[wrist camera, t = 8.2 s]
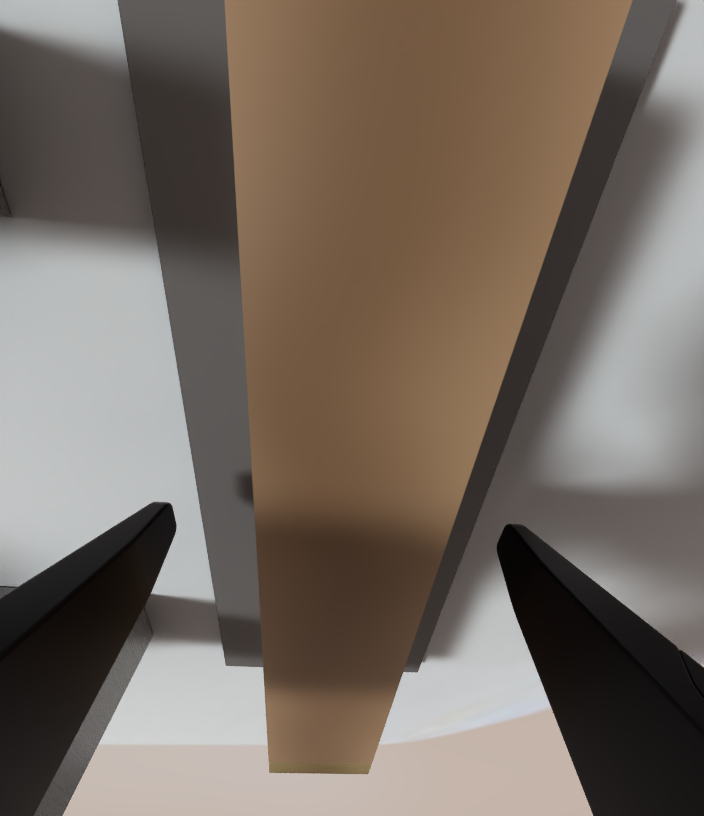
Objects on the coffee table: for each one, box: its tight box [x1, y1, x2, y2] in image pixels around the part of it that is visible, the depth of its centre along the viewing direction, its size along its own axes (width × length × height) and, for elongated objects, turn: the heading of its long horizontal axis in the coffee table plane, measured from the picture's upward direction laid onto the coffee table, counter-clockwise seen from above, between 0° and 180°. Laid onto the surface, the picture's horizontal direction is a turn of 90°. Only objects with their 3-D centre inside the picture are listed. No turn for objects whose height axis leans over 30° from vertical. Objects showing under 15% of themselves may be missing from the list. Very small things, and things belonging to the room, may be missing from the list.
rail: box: [224, 0, 633, 774], centre depth 8 cm, size 4×20×4 cm, turn 174°
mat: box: [118, 0, 676, 672], centre depth 10 cm, size 9×22×1 cm, turn 174°
